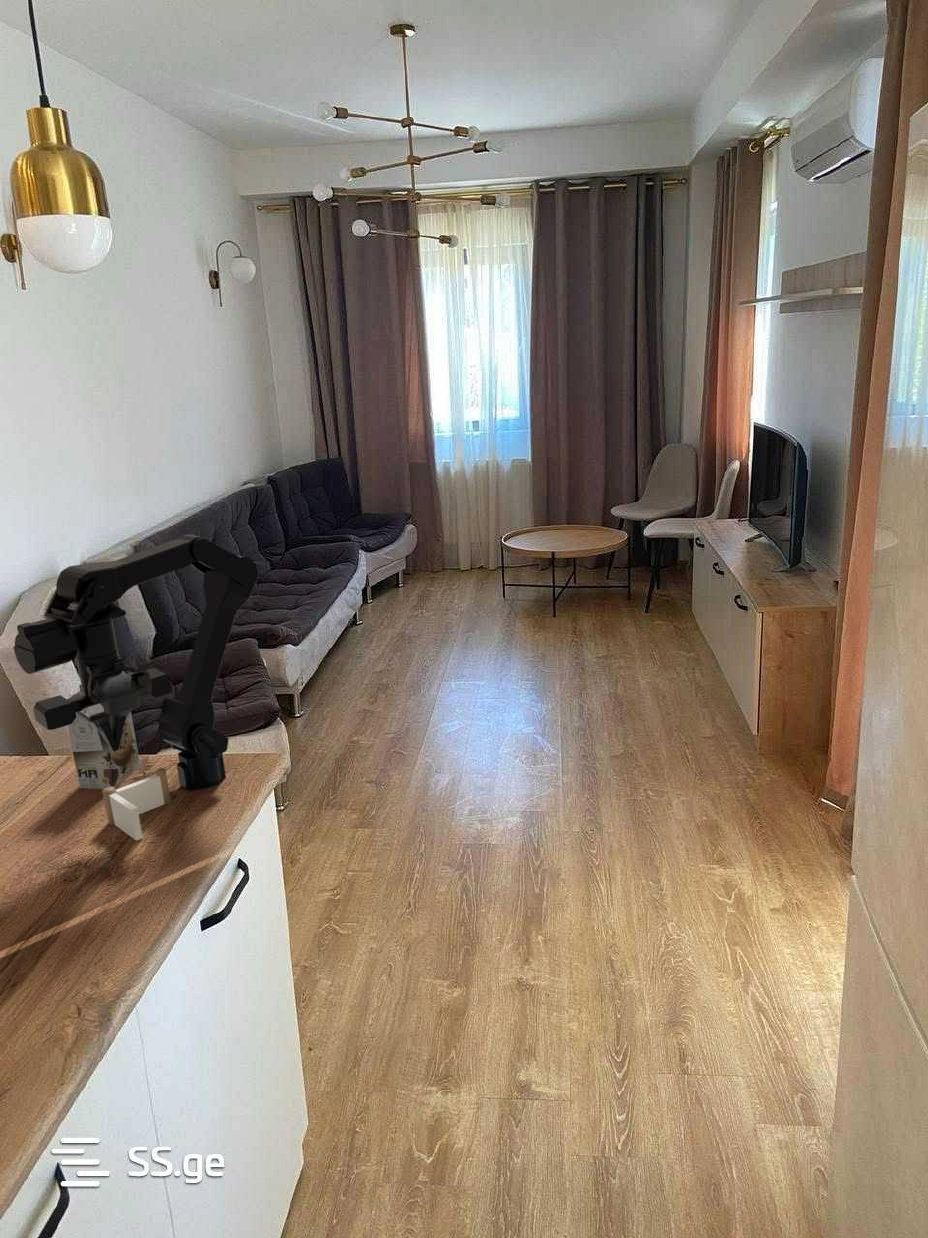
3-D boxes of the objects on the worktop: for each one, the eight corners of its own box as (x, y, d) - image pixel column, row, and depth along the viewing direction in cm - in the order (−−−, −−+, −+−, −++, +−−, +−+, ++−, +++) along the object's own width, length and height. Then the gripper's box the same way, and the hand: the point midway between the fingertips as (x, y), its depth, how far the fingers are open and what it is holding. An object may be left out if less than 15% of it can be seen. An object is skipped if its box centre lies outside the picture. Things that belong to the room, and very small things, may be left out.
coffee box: (114, 793, 150) (97, 702, 145) (78, 791, 151) (60, 701, 146) (142, 767, 158) (127, 680, 153) (109, 766, 160) (92, 680, 155)
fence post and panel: (167, 800, 146) (162, 767, 144) (173, 803, 144) (167, 770, 143) (106, 823, 139) (100, 789, 138) (111, 828, 138) (105, 793, 136)
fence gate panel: (114, 825, 138) (109, 795, 137) (121, 822, 139) (115, 792, 137) (136, 840, 133) (130, 810, 132) (142, 838, 134) (137, 807, 133)
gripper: (50, 684, 121) (72, 790, 125) (182, 647, 133) (197, 745, 137) (22, 665, 129) (43, 765, 133) (148, 631, 140) (164, 725, 145)
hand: (115, 750), depth 137 cm, fingers closed
